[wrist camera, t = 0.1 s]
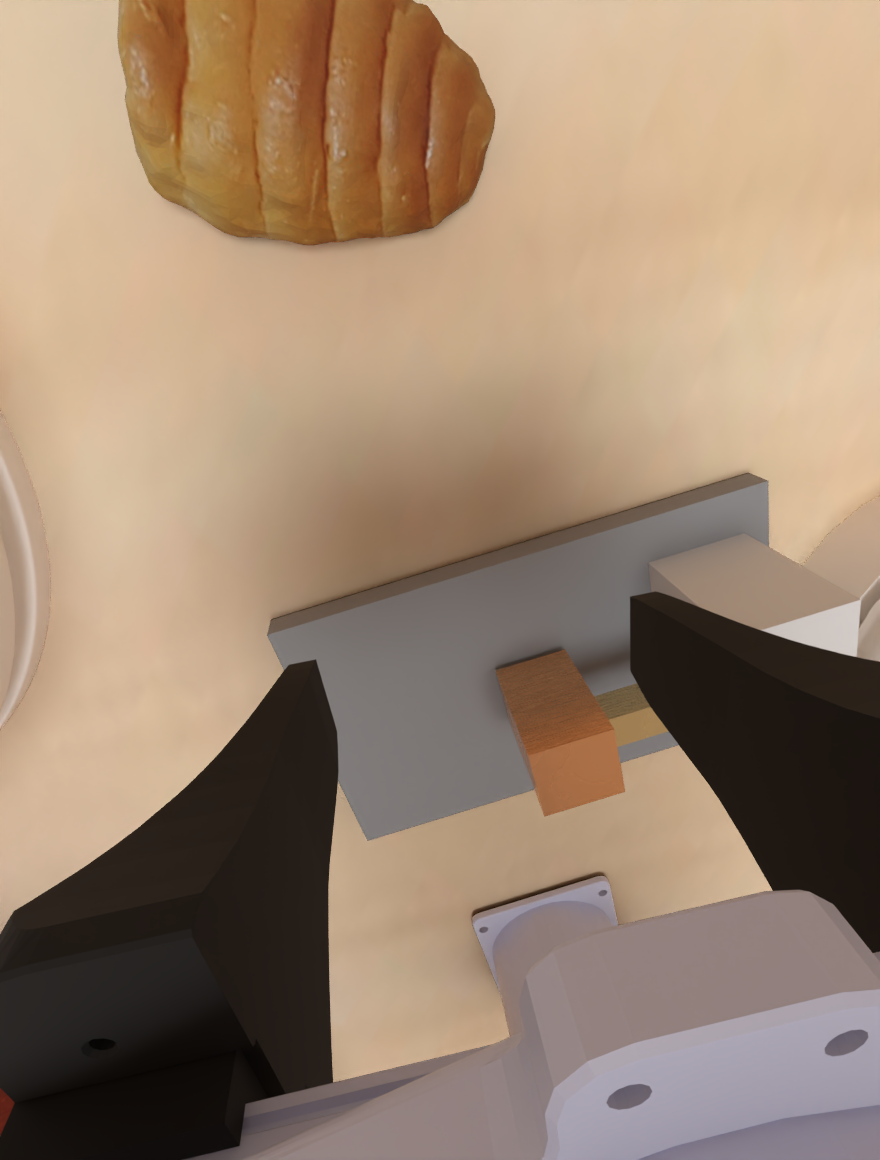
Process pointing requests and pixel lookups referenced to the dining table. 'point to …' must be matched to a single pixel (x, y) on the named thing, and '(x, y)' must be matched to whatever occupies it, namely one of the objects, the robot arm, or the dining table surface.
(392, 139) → the pastry
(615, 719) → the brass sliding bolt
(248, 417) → the dining table surface
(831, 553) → the honey pot
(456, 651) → the block
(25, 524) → the plate stack
